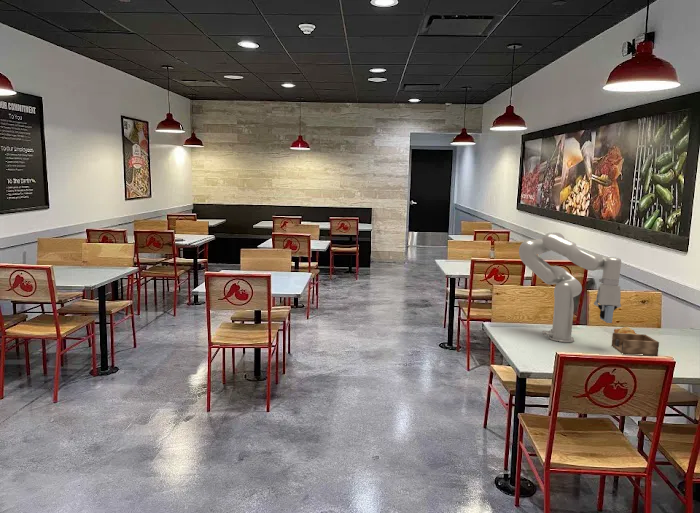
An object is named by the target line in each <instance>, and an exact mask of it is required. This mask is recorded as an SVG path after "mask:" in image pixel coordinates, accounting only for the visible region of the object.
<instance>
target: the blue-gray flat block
mask: <svg viewBox="0 0 700 513" xmlns="http://www.w3.org/2000/svg"><path fill="white" fill-rule="evenodd" d="M613 310H614V307H613V306H609V305H605V308H604V311H605V316H604V319H602V318H601V317H600V316H599V319H601V321H603V322H605V323H608V324H612V323H613V316H614V311H615V310H614V311H613Z"/></svg>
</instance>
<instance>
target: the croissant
mask: <svg viewBox="0 0 700 513" xmlns="http://www.w3.org/2000/svg"><path fill="white" fill-rule="evenodd" d="M613 333H626V334H637V333H636V331H635V330H634V329H632V328H630V327H628V326H625V327H621V328H617V329H616V328H614V330H613Z"/></svg>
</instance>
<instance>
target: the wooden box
mask: <svg viewBox="0 0 700 513" xmlns="http://www.w3.org/2000/svg"><path fill="white" fill-rule="evenodd" d="M612 346H613V349H615V350H616V349H617V351H618V352H619V353H621V354H622V353H623V354H622V355H626V354H643V355H641V357H642V356H645V357H646V356H647V357H658V355H659V348H660V347H659V346H660V342H659V341H657V340H655V339H654V338H653V337H651V336H649V335H647V334H639V333H636V334H626V333H614V332H612V336H611V347H612Z"/></svg>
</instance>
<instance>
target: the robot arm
mask: <svg viewBox="0 0 700 513" xmlns="http://www.w3.org/2000/svg"><path fill="white" fill-rule="evenodd" d="M551 251H552V252H555V253H557V254H558V255H560V256H563V257H565V258H566V259H567V260H569V261H570V262H571V263H573V264H574V265H576V266H578V267H580V268H582V269H585V270H587V271H591V272H593V271H601V270H602V277H601V278H600V279H599V280H598V282H599V283H600V284H599V286H598V289H597V294H596V299H595V301H594V302H593V306H596V307H598V309H599V311H600V313H599V318H600V317H601V318H602V319H604V316H605V311H604V308H605V305H609V306H613V307H614V310H613V312H614V311H616V309H619V308H621V307H622V304H621V298H622V297H621V293H622V292H621V291H622V289H621V286H620V285H619V284H620V283H619V282H620V275H621V267H622V259H621V258H619V257H617V256H615V257H614V256H606V255H602V254H593V255H592V254H589V253H587V252H585V251H583V250H582V249H579V248H578V247H577V244H576V243H575V242H573V241H571V240H569V239H567V238H565V236H564V235H563V234H562V233H561V232H547V233H545V235H543V237H540V238H537V239H527V240H524V241H522V242H521V244H520V246H519V248H518V256H519V258H520V260H521V262H522V263H523V265H525V266H526V268H528V269H529V270H531V272H532V273H534V274H535V275H536V276H537V277H538V278H539V279H541V280H542V281H543V283H545V284H546V285H555V286H554V289H553V297H554V298H553V299H554V302H553V304H554V305H553V316H552V317H553V318H552V328H550V330H542V335H546V336H548V339H549V340H551V341H554V342H558V341H559V342H558V343H573V342H575V338H574V337H572V332H573V331H572V330H573V322H574V321H573V320H574V319H573V318H574V310H575V306H574V304H575V302H574V298H575V297H578V296H579V295H580V294H581V293H582V290H583V286H582V284H581V282H580V281H579V280H578V279H577V278H576V277H575V276H573V275H572V274H571V273H570V272H569V271H567V269H566V268H563V267H561V266H559V265H553V266H552V265H550V264H549V263H548V262H547V261H545V259H543V258H542V257H540V256H539V255H542V254H544V253H547V252H551ZM602 319H601V320H602Z"/></svg>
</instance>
